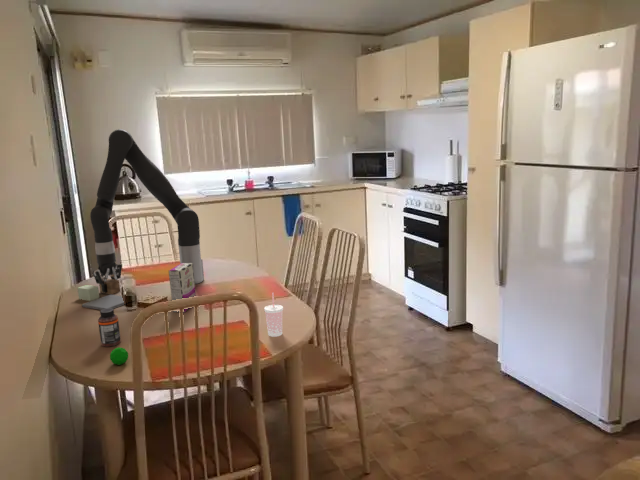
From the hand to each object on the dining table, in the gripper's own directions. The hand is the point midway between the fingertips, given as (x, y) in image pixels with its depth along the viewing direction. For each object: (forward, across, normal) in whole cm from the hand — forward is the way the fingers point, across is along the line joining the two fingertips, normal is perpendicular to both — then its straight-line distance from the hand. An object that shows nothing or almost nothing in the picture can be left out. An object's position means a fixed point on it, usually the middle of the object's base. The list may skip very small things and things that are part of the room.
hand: (110, 290), depth 229 cm
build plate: (+1, -12, -13) cm, 18 cm away
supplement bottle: (+1, -42, -48) cm, 64 cm away
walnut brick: (+1, 0, 0) cm, 1 cm away
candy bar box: (+1, -5, -46) cm, 46 cm away
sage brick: (+1, -10, +1) cm, 10 cm away
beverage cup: (+1, -15, -93) cm, 94 cm away
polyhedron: (+1, -52, -63) cm, 82 cm away
